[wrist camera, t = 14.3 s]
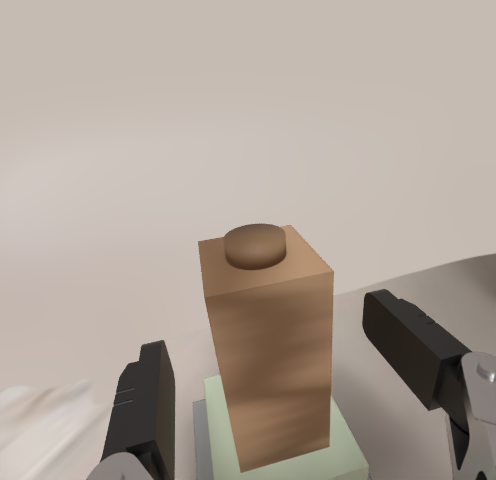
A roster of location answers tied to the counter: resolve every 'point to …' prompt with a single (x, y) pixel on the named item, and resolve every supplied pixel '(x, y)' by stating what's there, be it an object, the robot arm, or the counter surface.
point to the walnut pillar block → (271, 340)
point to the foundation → (278, 474)
